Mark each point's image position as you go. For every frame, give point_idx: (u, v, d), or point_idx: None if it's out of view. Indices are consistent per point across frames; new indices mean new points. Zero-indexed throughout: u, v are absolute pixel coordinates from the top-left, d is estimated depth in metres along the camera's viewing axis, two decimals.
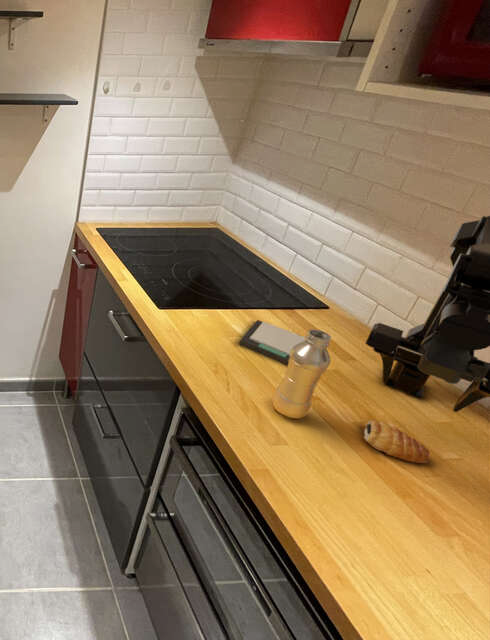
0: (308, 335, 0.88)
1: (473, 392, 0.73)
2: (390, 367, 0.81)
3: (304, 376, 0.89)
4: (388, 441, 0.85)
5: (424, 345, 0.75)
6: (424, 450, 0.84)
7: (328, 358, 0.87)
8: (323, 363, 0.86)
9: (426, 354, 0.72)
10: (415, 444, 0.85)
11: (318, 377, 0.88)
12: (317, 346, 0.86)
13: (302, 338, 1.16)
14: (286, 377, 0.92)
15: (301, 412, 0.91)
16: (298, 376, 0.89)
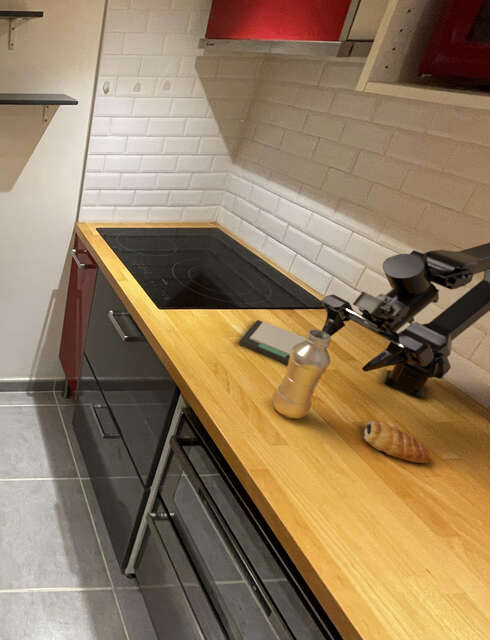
0: (308, 335, 0.88)
1: (386, 349, 0.86)
2: (329, 326, 0.95)
3: (304, 376, 0.89)
4: (388, 441, 0.85)
5: None
6: (424, 450, 0.84)
7: (328, 358, 0.87)
8: (323, 363, 0.86)
9: (364, 292, 0.89)
10: (415, 444, 0.85)
11: (318, 377, 0.88)
12: (317, 346, 0.86)
13: (302, 338, 1.16)
14: (286, 377, 0.92)
15: (301, 412, 0.91)
16: (298, 376, 0.89)
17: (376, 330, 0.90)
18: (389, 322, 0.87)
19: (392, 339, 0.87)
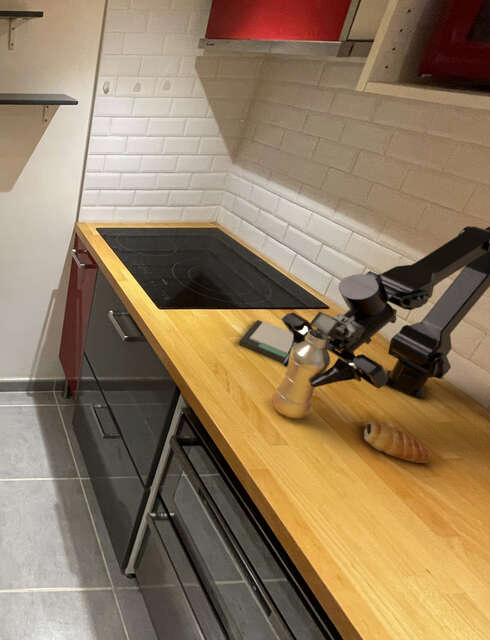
0: (308, 335, 0.88)
1: (333, 366, 0.86)
2: None
3: (304, 376, 0.89)
4: (388, 441, 0.85)
5: None
6: (424, 450, 0.84)
7: (328, 358, 0.87)
8: (323, 363, 0.86)
9: (321, 312, 0.88)
10: (415, 444, 0.85)
11: None
12: (317, 346, 0.86)
13: None
14: (286, 377, 0.92)
15: (301, 412, 0.91)
16: (298, 376, 0.89)
17: None
18: (345, 343, 0.86)
19: None
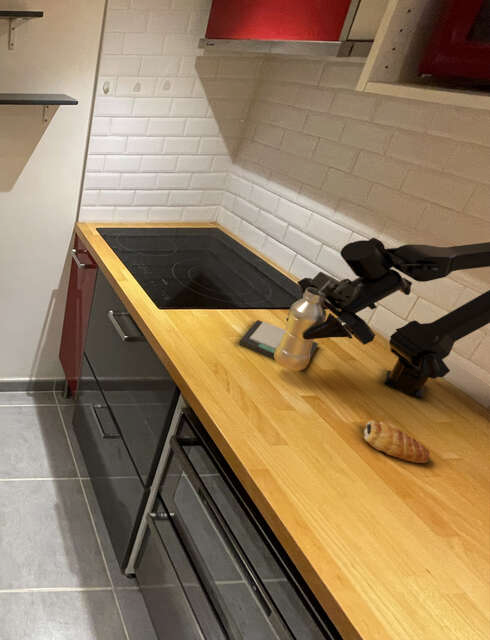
0: (305, 291, 0.97)
1: (325, 321, 0.95)
2: None
3: (297, 328, 0.98)
4: (387, 441, 0.85)
5: None
6: (424, 450, 0.84)
7: (321, 314, 0.95)
8: (314, 316, 0.95)
9: None
10: (415, 444, 0.85)
11: None
12: (310, 301, 0.96)
13: None
14: (285, 330, 1.02)
15: (295, 363, 1.00)
16: (292, 328, 0.99)
17: (329, 306, 0.98)
18: (340, 301, 0.94)
19: None
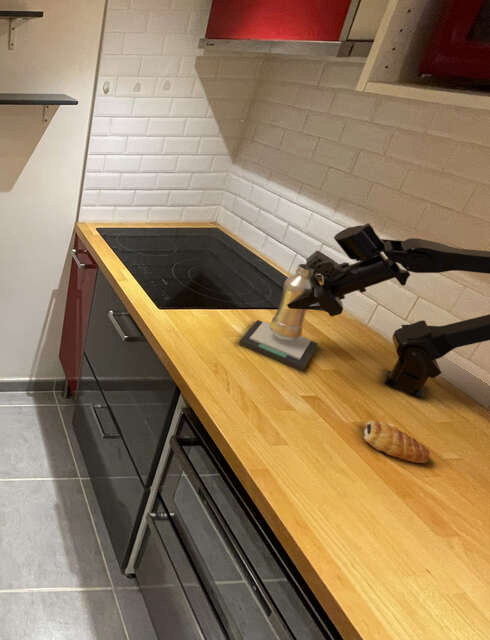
0: None
1: (308, 293, 1.05)
2: None
3: (285, 298, 1.10)
4: (387, 441, 0.85)
5: None
6: (424, 450, 0.84)
7: (307, 287, 1.06)
8: (298, 288, 1.06)
9: None
10: (415, 444, 0.85)
11: None
12: (298, 273, 1.07)
13: (302, 338, 1.16)
14: None
15: (282, 331, 1.12)
16: (282, 298, 1.11)
17: None
18: (325, 278, 1.03)
19: None
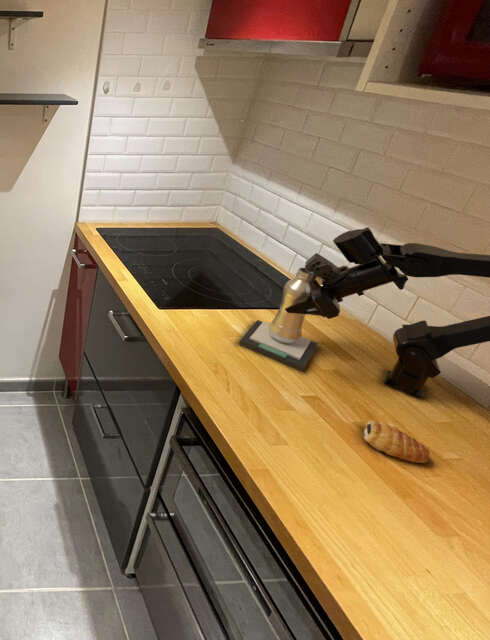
0: None
1: (306, 298, 1.05)
2: None
3: (285, 301, 1.11)
4: (387, 441, 0.85)
5: None
6: (424, 450, 0.84)
7: (306, 290, 1.07)
8: (298, 291, 1.07)
9: (320, 255, 1.07)
10: (415, 444, 0.85)
11: None
12: (298, 277, 1.08)
13: (302, 338, 1.16)
14: None
15: (281, 334, 1.13)
16: (282, 301, 1.12)
17: None
18: (323, 280, 1.04)
19: None
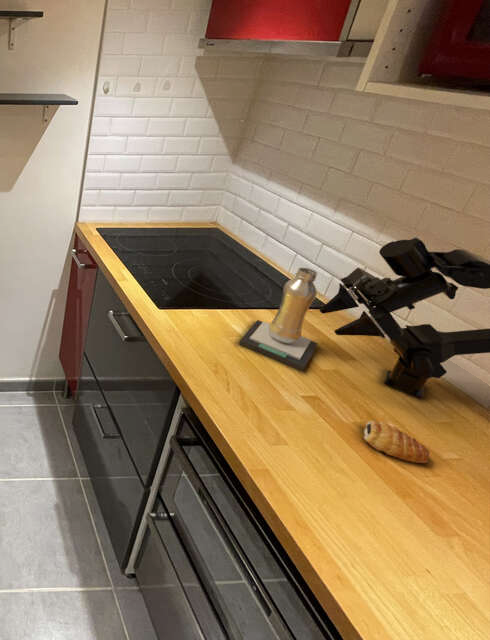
0: None
1: (359, 318, 0.96)
2: (335, 299, 1.06)
3: (285, 301, 1.11)
4: (387, 441, 0.85)
5: None
6: (424, 450, 0.84)
7: (306, 290, 1.07)
8: (298, 291, 1.07)
9: (361, 269, 0.99)
10: (415, 444, 0.85)
11: (296, 305, 1.09)
12: (298, 277, 1.08)
13: (302, 338, 1.16)
14: None
15: (281, 334, 1.13)
16: (282, 301, 1.12)
17: (368, 306, 0.99)
18: (373, 297, 0.96)
19: None
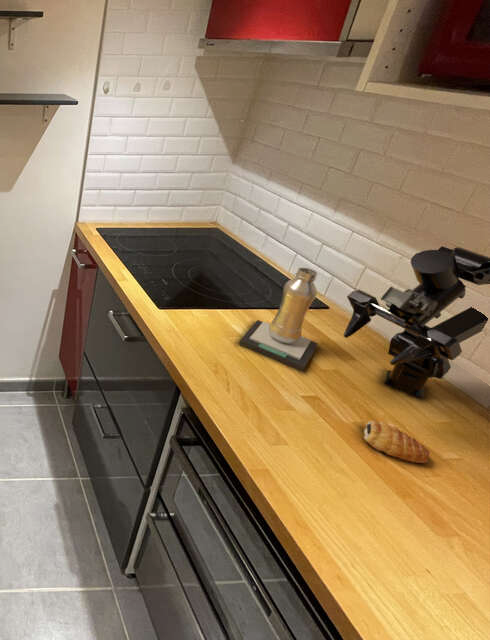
0: None
1: (414, 343, 0.88)
2: (356, 320, 0.97)
3: (285, 301, 1.11)
4: (387, 441, 0.85)
5: None
6: (424, 450, 0.84)
7: (306, 290, 1.07)
8: (298, 291, 1.07)
9: (392, 287, 0.91)
10: (415, 444, 0.85)
11: (296, 305, 1.09)
12: (298, 277, 1.08)
13: (302, 338, 1.16)
14: None
15: (281, 334, 1.13)
16: (282, 301, 1.12)
17: (403, 325, 0.91)
18: (417, 316, 0.88)
19: (420, 333, 0.89)
